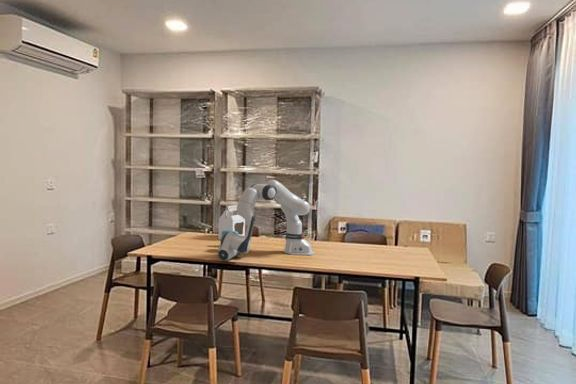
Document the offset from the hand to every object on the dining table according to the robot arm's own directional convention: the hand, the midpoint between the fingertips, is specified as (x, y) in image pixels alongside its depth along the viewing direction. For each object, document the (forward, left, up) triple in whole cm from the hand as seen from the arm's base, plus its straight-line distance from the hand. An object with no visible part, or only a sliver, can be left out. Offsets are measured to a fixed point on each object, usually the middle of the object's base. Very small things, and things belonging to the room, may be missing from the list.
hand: (237, 246), depth 302 cm
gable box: (+24, -60, -6) cm, 65 cm away
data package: (+14, -25, -6) cm, 29 cm away
